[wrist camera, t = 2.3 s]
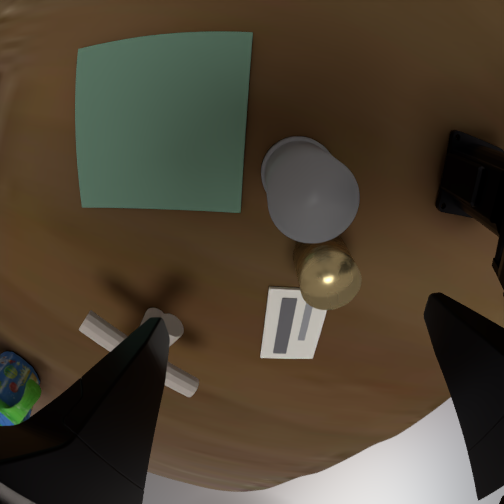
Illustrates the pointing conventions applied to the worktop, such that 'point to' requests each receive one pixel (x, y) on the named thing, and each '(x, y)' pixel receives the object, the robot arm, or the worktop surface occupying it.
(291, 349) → the label tile
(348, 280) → the brass fitting
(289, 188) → the cylinder
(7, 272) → the worktop surface
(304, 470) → the worktop surface
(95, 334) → the pipe connector
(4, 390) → the snack cup
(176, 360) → the worktop surface
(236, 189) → the mat
